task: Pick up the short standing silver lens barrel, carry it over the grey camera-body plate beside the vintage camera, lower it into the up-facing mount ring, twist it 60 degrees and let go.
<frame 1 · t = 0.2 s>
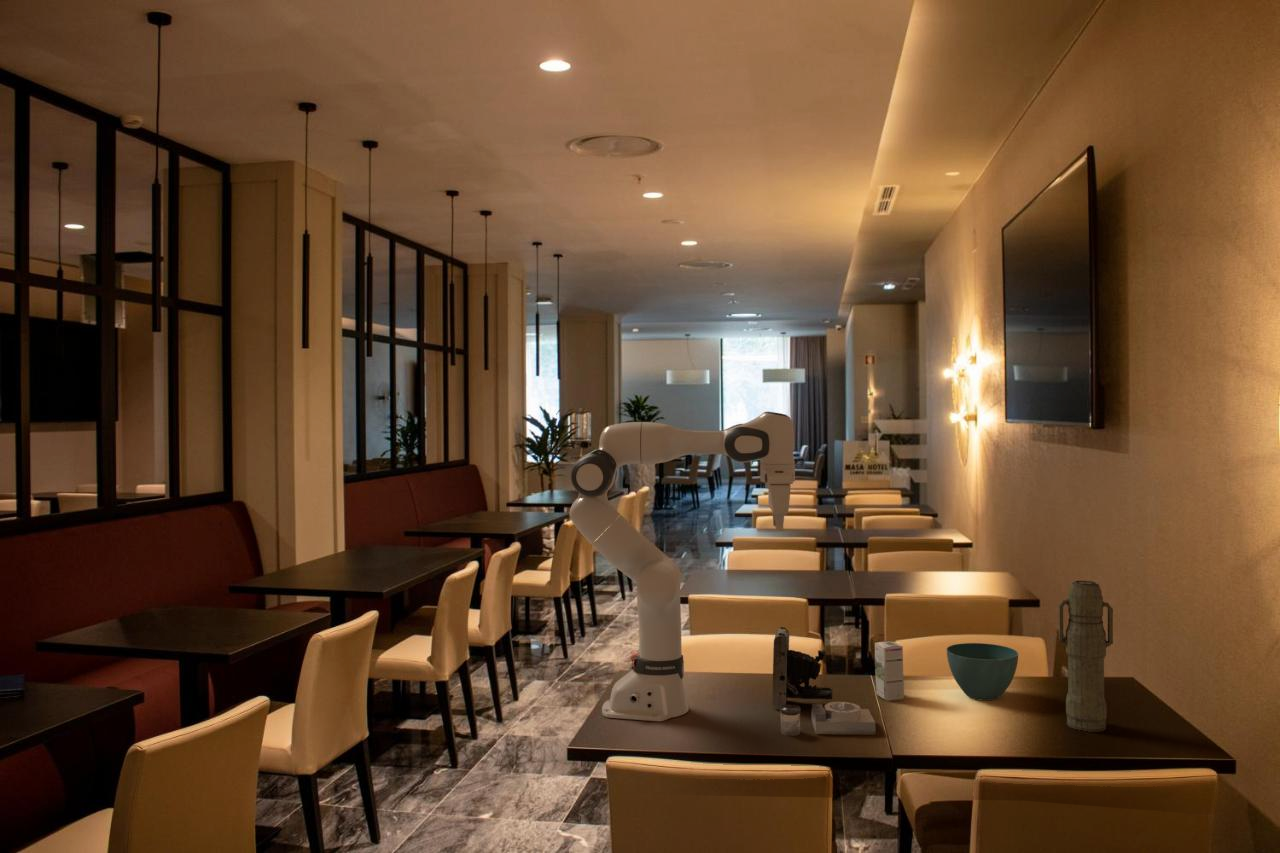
hand: (778, 528, 243), 47 cm above the table, fingers open, 8 cm apart
mount: (842, 727, 231), on the table
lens: (790, 732, 228), on the table
syrup box: (889, 698, 254), on the table
teal bowl: (982, 696, 255), on the table
vintage camera: (802, 706, 248), on the table
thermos: (1086, 726, 229), on the table
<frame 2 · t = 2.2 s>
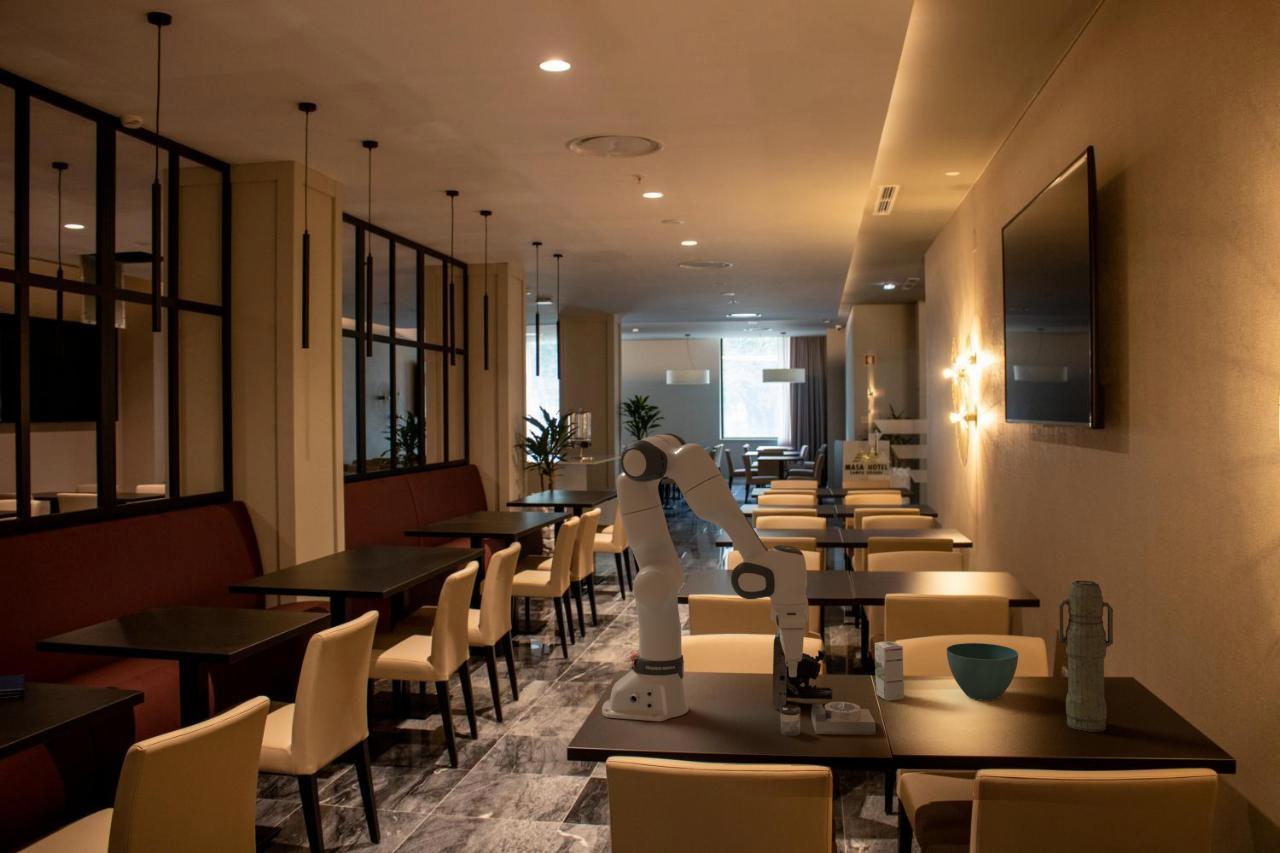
hand: (791, 670, 227), 15 cm above the table, fingers open, 8 cm apart
nothing on the table moved.
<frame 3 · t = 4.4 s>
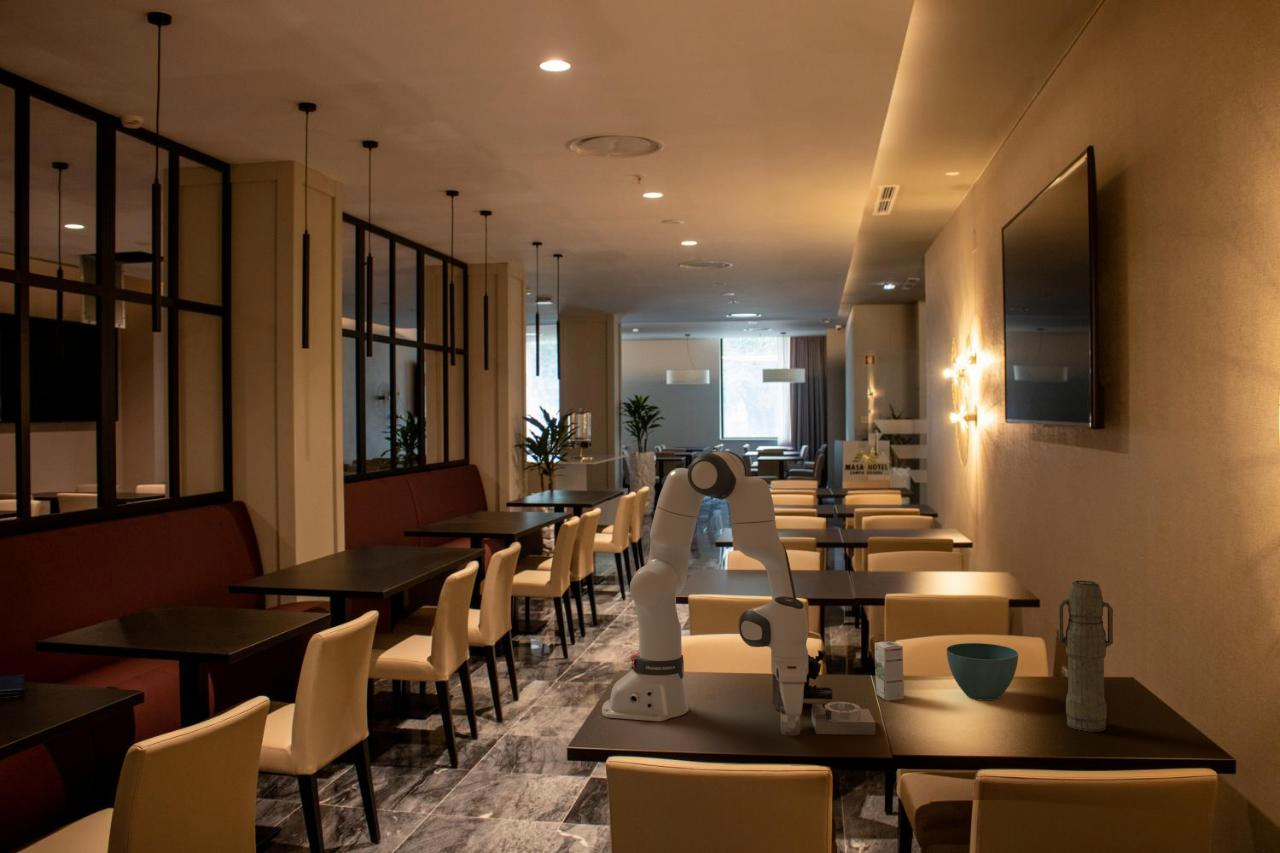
hand: (790, 722, 228), 2 cm above the table, fingers closed on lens, 5 cm apart
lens: (790, 732, 228), on the table, touching gripper
everything else where it was.
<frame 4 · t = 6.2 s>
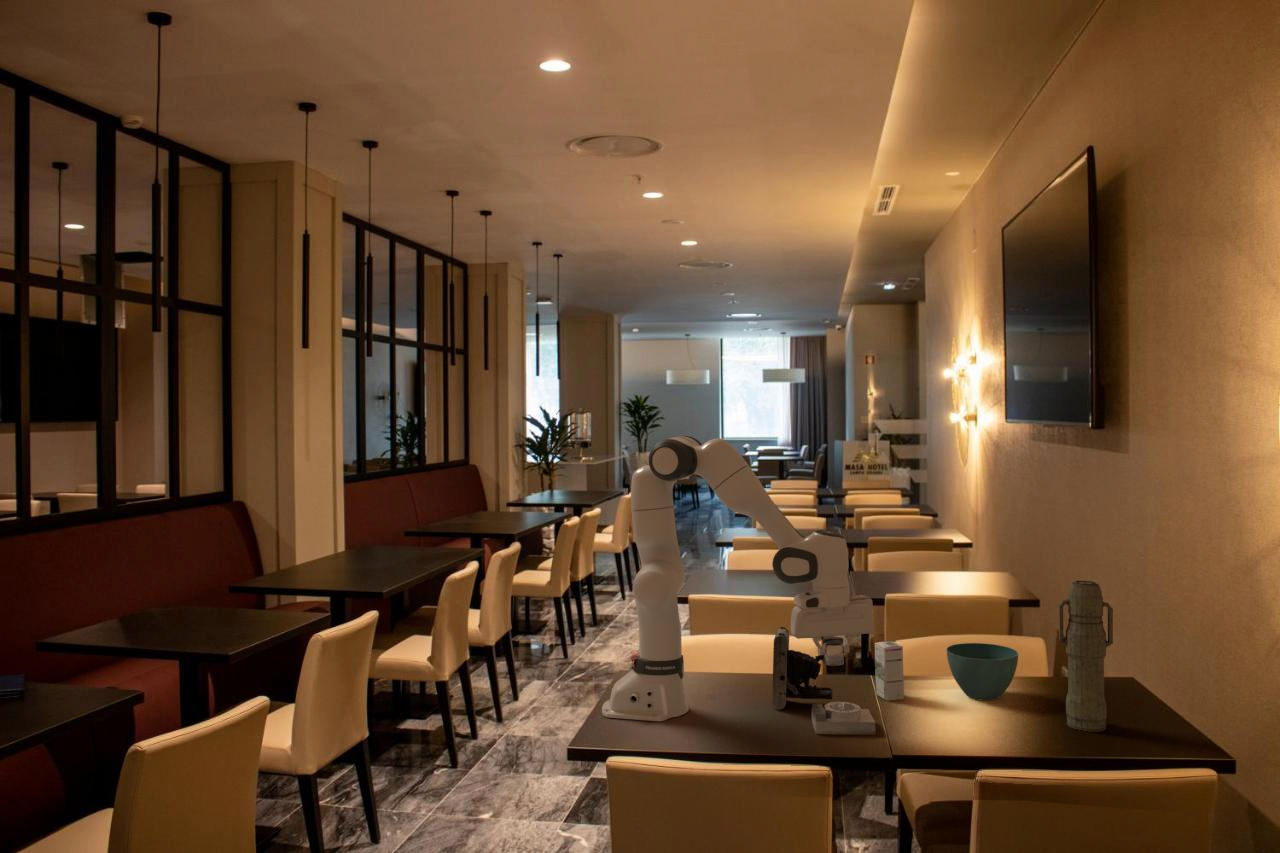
hand: (833, 653, 230), 18 cm above the table, fingers closed on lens, 5 cm apart
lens: (833, 663, 229), point 16 cm above the table, touching gripper
everything else where it was.
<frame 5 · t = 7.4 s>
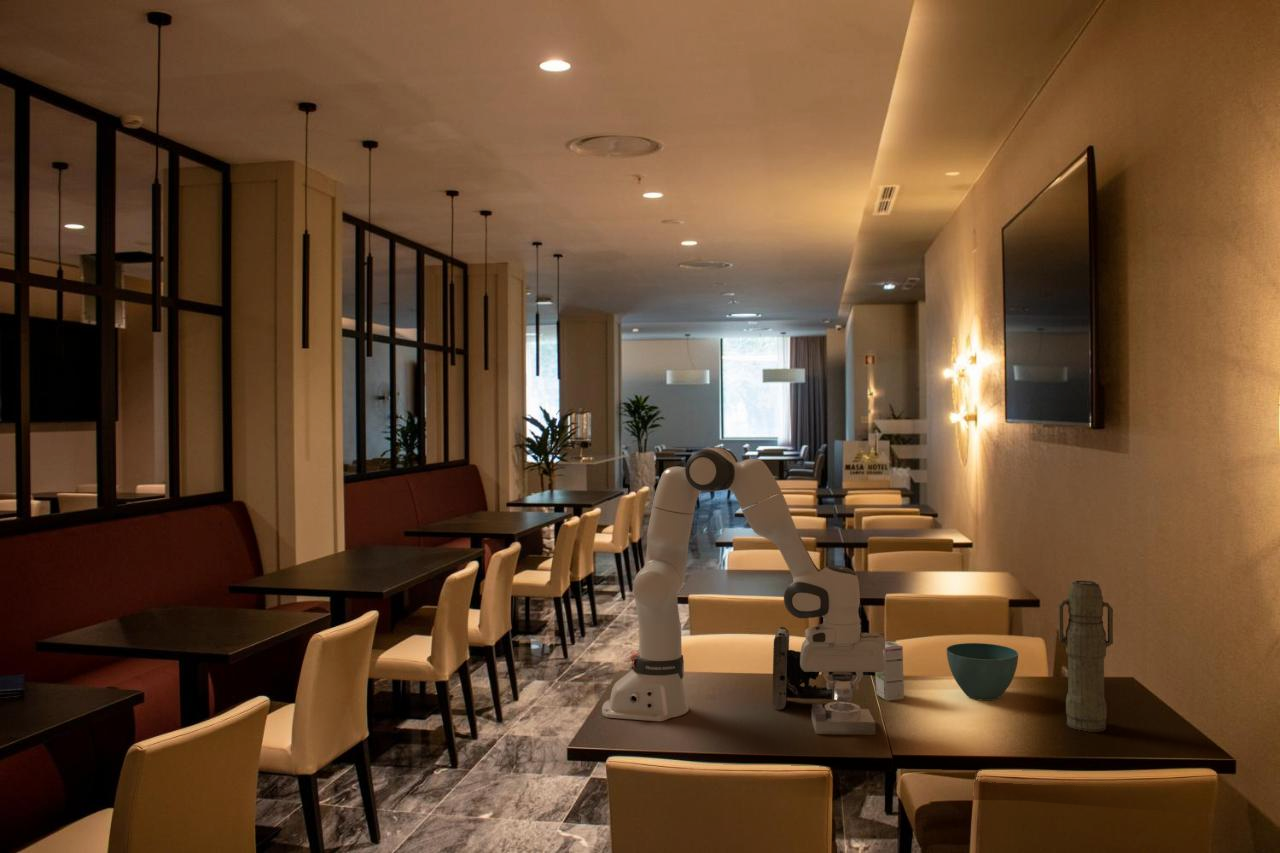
hand: (842, 689, 231), 9 cm above the table, fingers closed on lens, 5 cm apart
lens: (842, 698, 230), point 7 cm above the table, touching gripper
everything else where it was.
when the fingers open (6 cm above the table, at t = 8.8 s): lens stays where it is, resting on mount.
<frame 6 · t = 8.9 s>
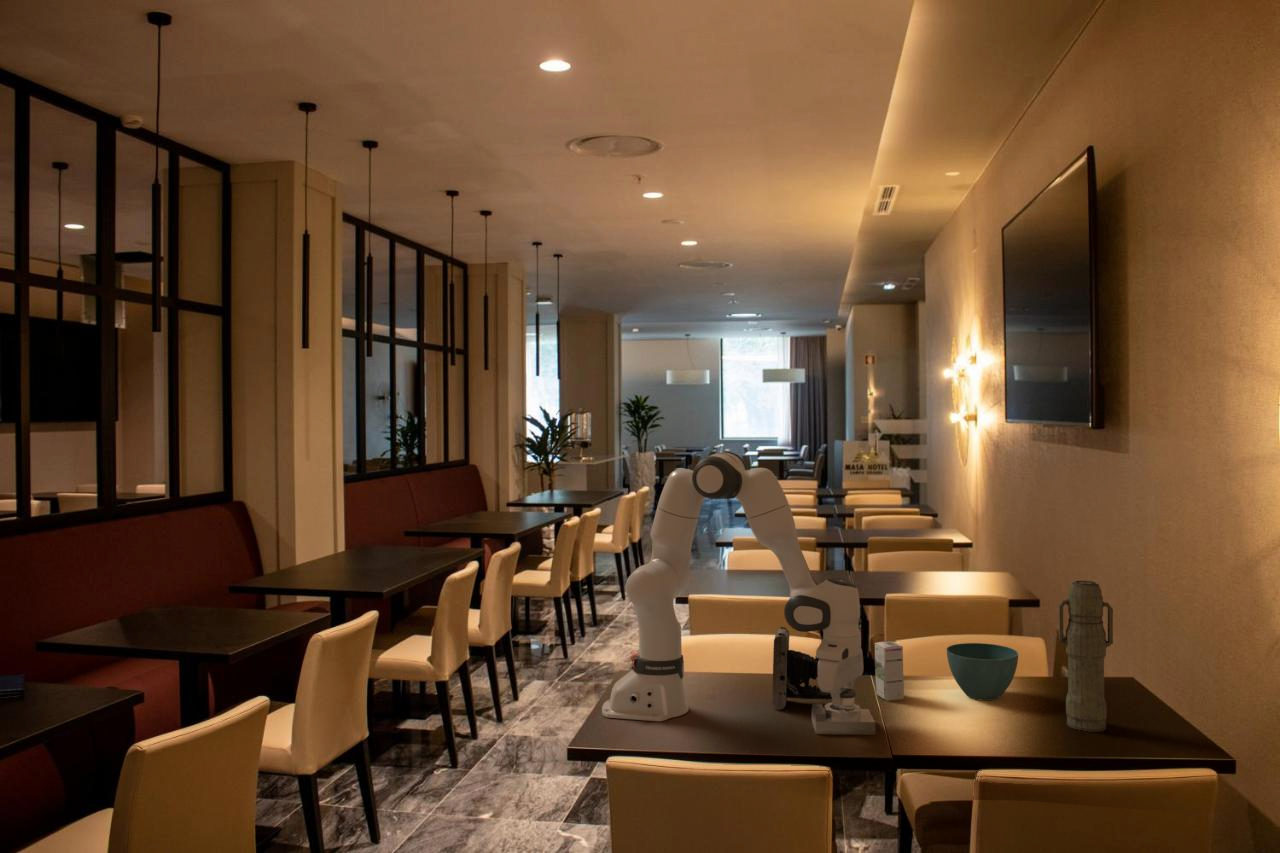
hand: (842, 701, 231), 6 cm above the table, fingers open, 5 cm apart
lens: (845, 715, 230), point 3 cm above the table, touching mount
everything else where it was.
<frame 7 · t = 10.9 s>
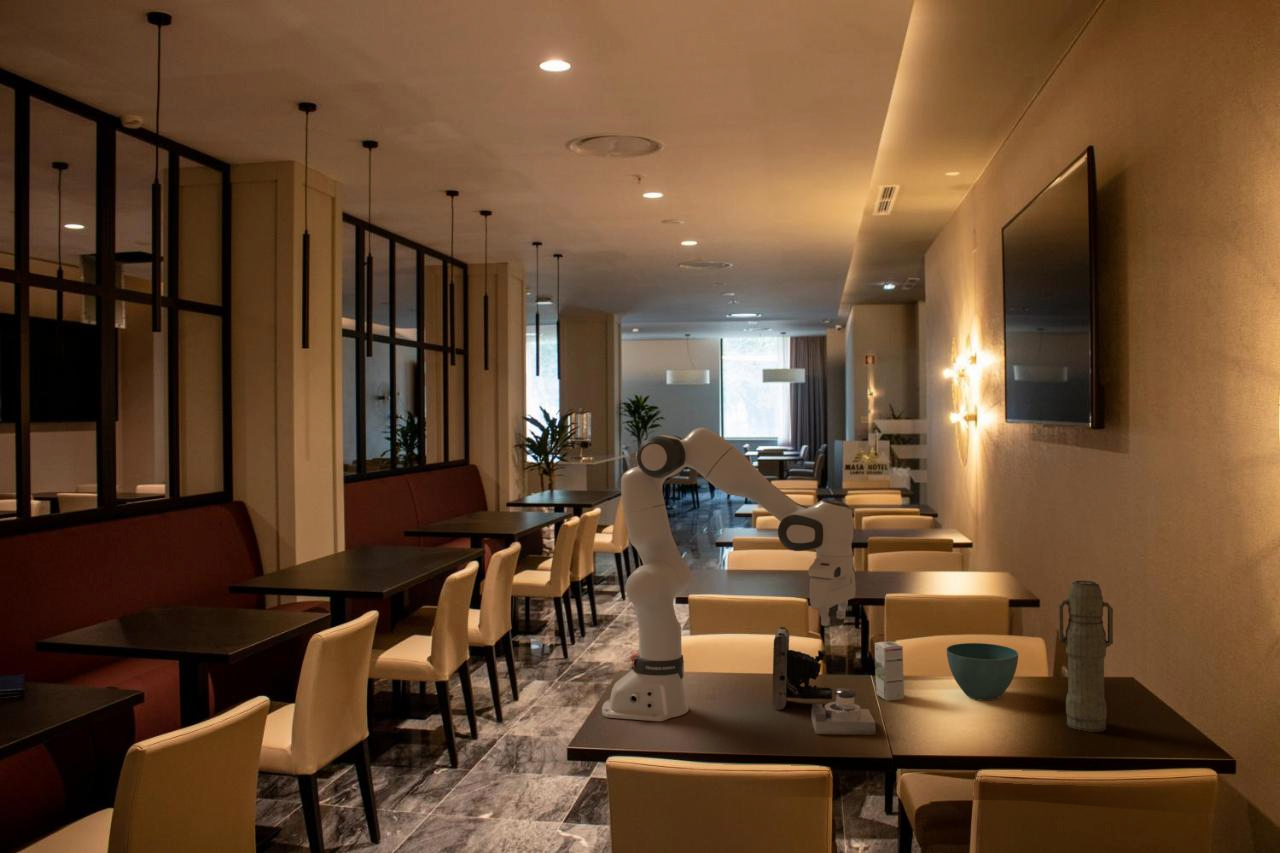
hand: (833, 621, 233), 25 cm above the table, fingers open, 8 cm apart
nothing on the table moved.
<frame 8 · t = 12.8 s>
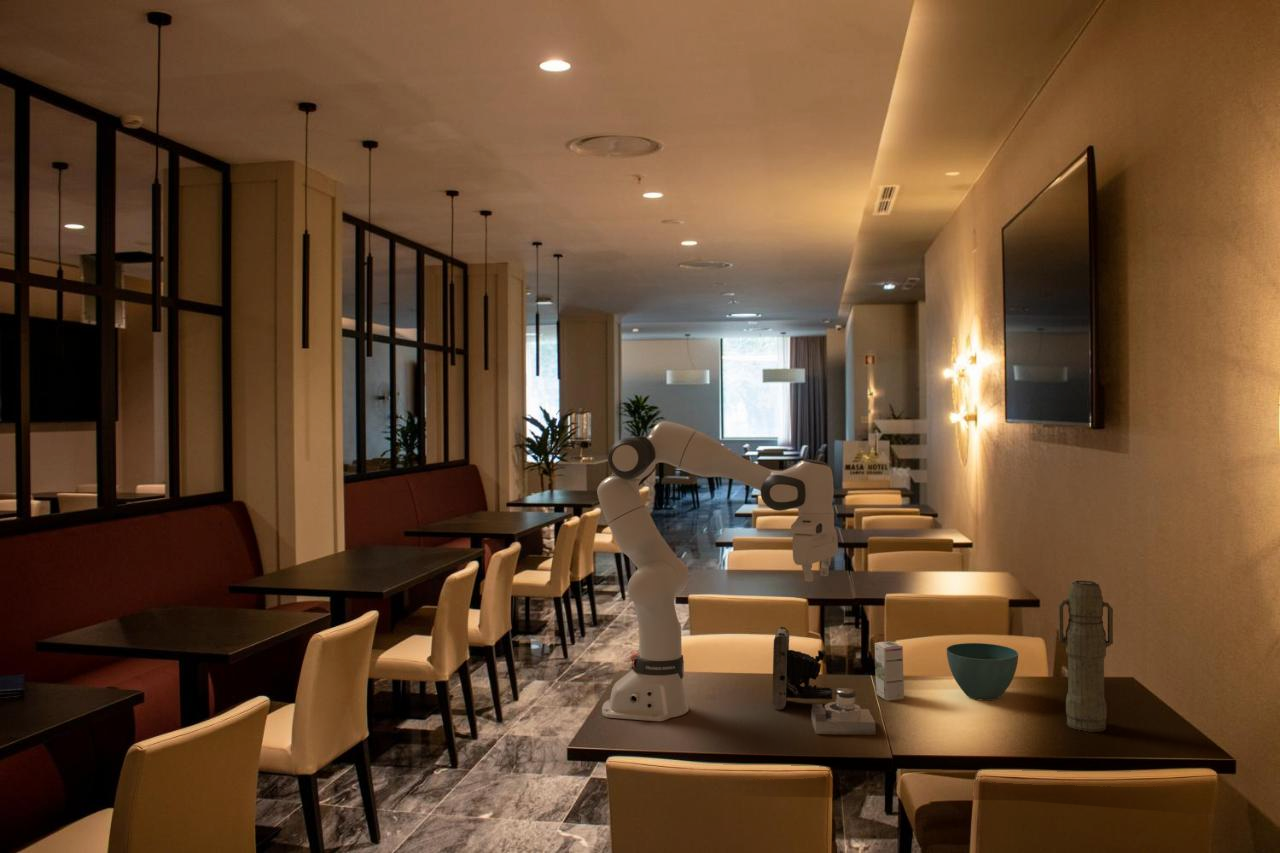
hand: (816, 578, 239), 35 cm above the table, fingers open, 8 cm apart
nothing on the table moved.
at the end: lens 0.6 cm off-centre on the mount, point 3.1 cm above the mount's base; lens tilted 2°; the gripper is holding nothing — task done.
